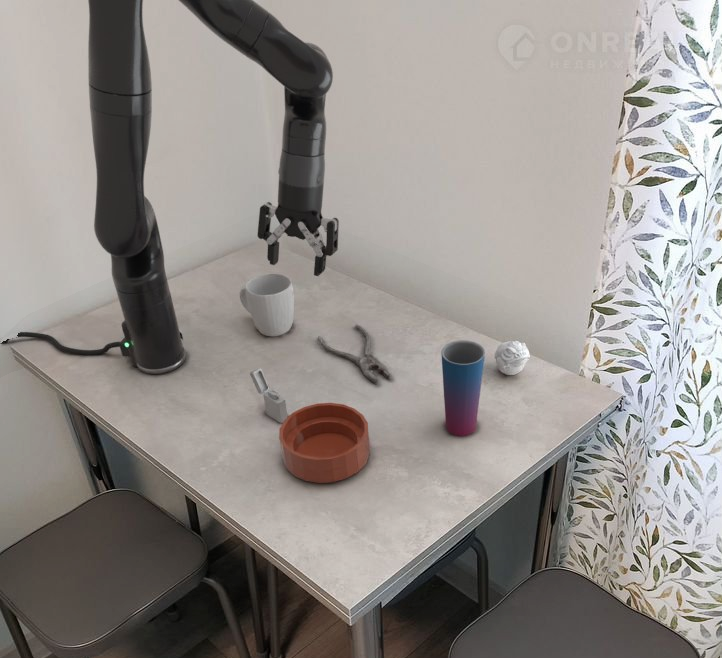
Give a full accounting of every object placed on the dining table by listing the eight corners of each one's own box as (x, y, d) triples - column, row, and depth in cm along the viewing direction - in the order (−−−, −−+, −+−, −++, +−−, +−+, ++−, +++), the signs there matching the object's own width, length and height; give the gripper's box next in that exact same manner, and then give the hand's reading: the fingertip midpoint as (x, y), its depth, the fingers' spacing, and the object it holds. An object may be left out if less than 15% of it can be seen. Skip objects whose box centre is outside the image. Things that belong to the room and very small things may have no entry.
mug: (306, 324, 164) (300, 280, 157) (276, 345, 159) (270, 300, 152) (259, 307, 170) (253, 264, 164) (230, 326, 165) (221, 283, 158)
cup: (437, 416, 139) (438, 342, 129) (476, 412, 139) (480, 338, 129) (444, 441, 134) (445, 366, 124) (484, 437, 134) (489, 362, 124)
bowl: (270, 478, 129) (266, 452, 126) (299, 423, 140) (296, 398, 136) (356, 491, 126) (353, 465, 122) (379, 434, 136) (378, 408, 133)
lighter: (288, 418, 141) (283, 381, 136) (281, 423, 140) (275, 385, 135) (262, 402, 145) (256, 365, 140) (255, 406, 144) (248, 369, 139)
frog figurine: (505, 388, 144) (508, 355, 140) (486, 367, 149) (488, 335, 145) (535, 379, 146) (538, 346, 141) (515, 359, 151) (518, 327, 146)
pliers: (351, 319, 162) (417, 361, 150) (352, 323, 163) (417, 365, 151) (312, 337, 158) (377, 382, 146) (313, 341, 159) (377, 385, 146)
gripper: (349, 180, 136) (340, 271, 146) (272, 163, 140) (268, 252, 149) (332, 193, 131) (324, 286, 140) (252, 174, 134) (250, 266, 143)
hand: (295, 268), depth 145 cm, fingers open, 8 cm apart
